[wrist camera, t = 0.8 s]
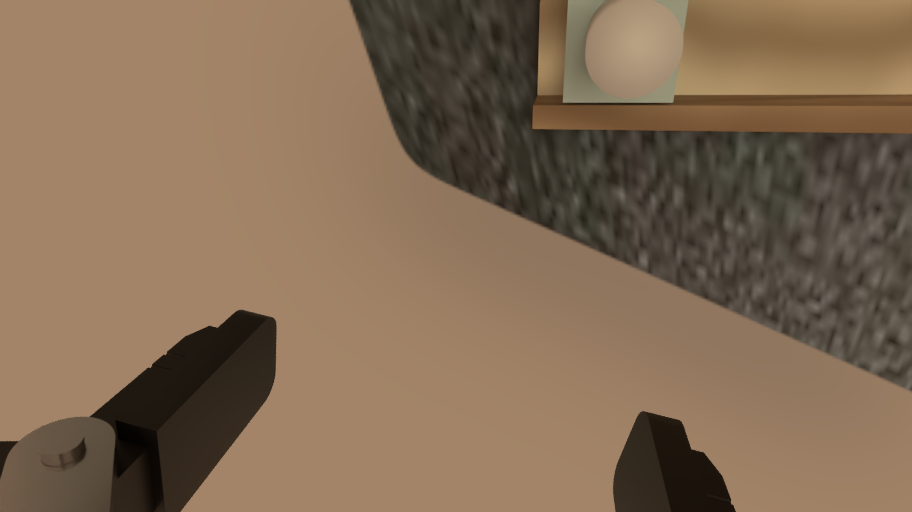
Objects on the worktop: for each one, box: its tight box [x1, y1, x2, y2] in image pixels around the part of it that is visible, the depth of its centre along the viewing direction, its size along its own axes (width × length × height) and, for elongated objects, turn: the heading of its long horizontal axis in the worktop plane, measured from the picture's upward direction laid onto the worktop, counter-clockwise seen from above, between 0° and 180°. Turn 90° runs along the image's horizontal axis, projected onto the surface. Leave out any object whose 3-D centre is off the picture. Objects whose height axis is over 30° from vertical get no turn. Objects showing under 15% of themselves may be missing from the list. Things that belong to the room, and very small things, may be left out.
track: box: [532, 0, 912, 134], centre depth 23 cm, size 10×22×4 cm, turn 93°
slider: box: [563, 0, 689, 103], centre depth 21 cm, size 6×5×9 cm
